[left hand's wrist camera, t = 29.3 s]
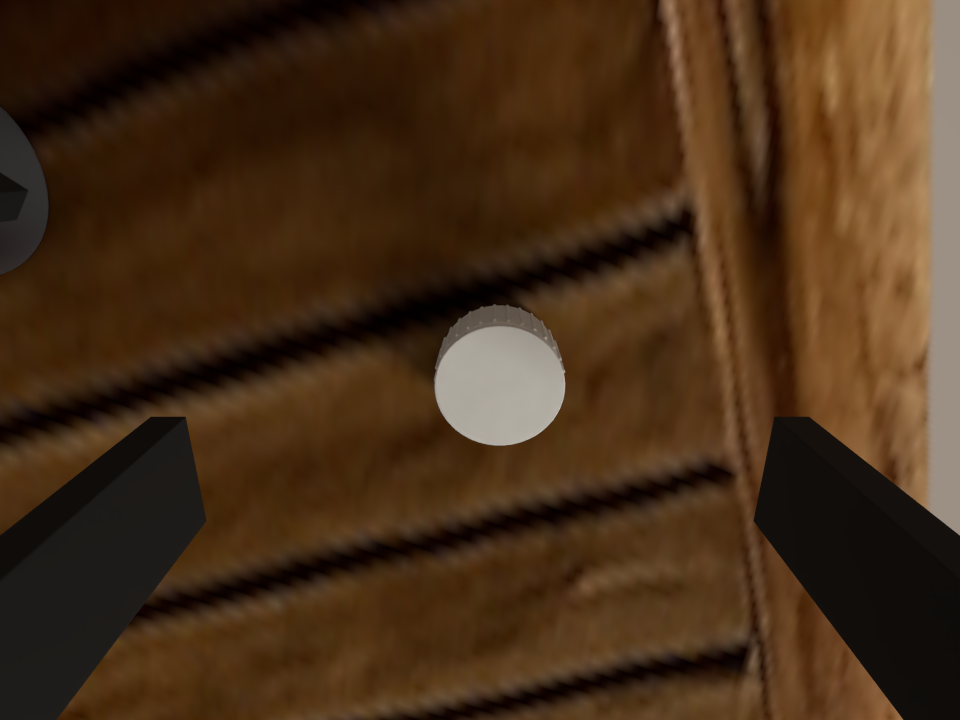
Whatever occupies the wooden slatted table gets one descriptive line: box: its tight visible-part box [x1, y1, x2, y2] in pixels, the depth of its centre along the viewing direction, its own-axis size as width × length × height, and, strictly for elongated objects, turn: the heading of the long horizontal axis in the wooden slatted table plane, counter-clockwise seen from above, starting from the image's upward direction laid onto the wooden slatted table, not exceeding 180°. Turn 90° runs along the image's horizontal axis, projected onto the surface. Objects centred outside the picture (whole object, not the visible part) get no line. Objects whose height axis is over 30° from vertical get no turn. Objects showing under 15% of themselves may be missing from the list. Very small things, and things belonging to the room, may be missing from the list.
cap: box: [434, 304, 565, 445], centre depth 17 cm, size 4×4×2 cm
